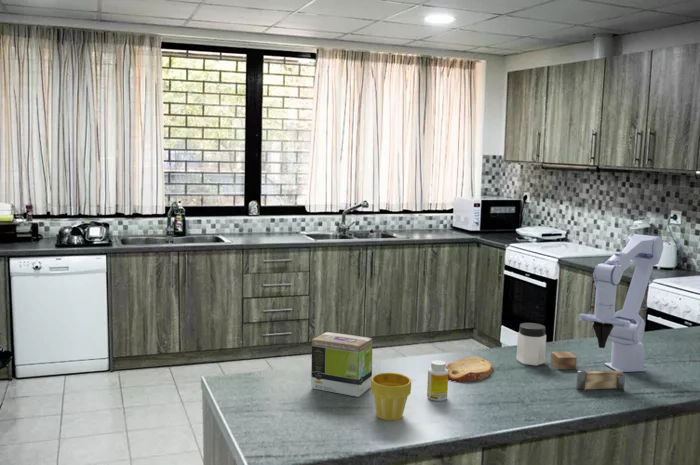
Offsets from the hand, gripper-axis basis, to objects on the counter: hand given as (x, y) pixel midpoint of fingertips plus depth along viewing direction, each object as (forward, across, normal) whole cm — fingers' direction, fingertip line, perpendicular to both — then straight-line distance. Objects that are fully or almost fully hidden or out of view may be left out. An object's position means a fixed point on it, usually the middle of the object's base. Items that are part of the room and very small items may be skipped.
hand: (601, 347), depth 200 cm
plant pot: (+10, -37, -64) cm, 74 cm away
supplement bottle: (+10, -32, -45) cm, 57 cm away
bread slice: (+10, -35, -20) cm, 41 cm away
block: (+10, -13, +5) cm, 17 cm away
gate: (+10, +3, -9) cm, 13 cm away
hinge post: (+10, -2, -13) cm, 17 cm away
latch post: (+10, +8, -7) cm, 14 cm away
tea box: (+10, -58, -55) cm, 81 cm away
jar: (+10, -23, +3) cm, 25 cm away
